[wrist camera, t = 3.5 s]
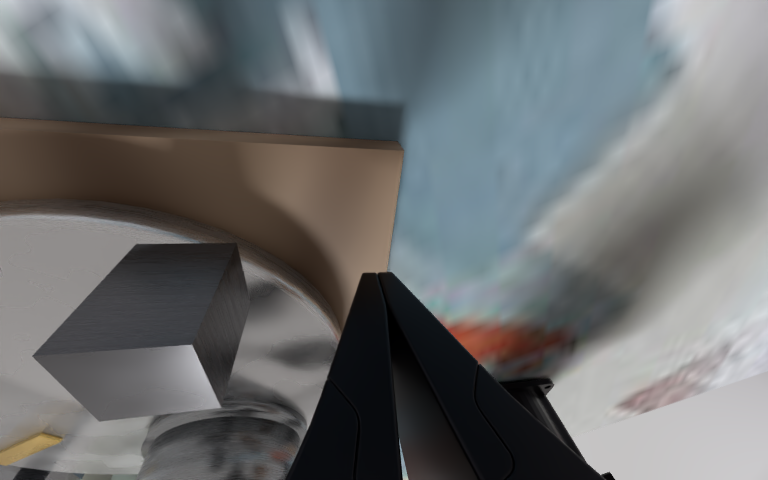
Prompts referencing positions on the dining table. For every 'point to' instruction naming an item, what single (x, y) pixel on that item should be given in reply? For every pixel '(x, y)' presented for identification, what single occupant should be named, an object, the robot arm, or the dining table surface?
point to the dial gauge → (35, 474)
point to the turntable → (141, 330)
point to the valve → (109, 477)
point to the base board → (226, 187)
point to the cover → (224, 442)
